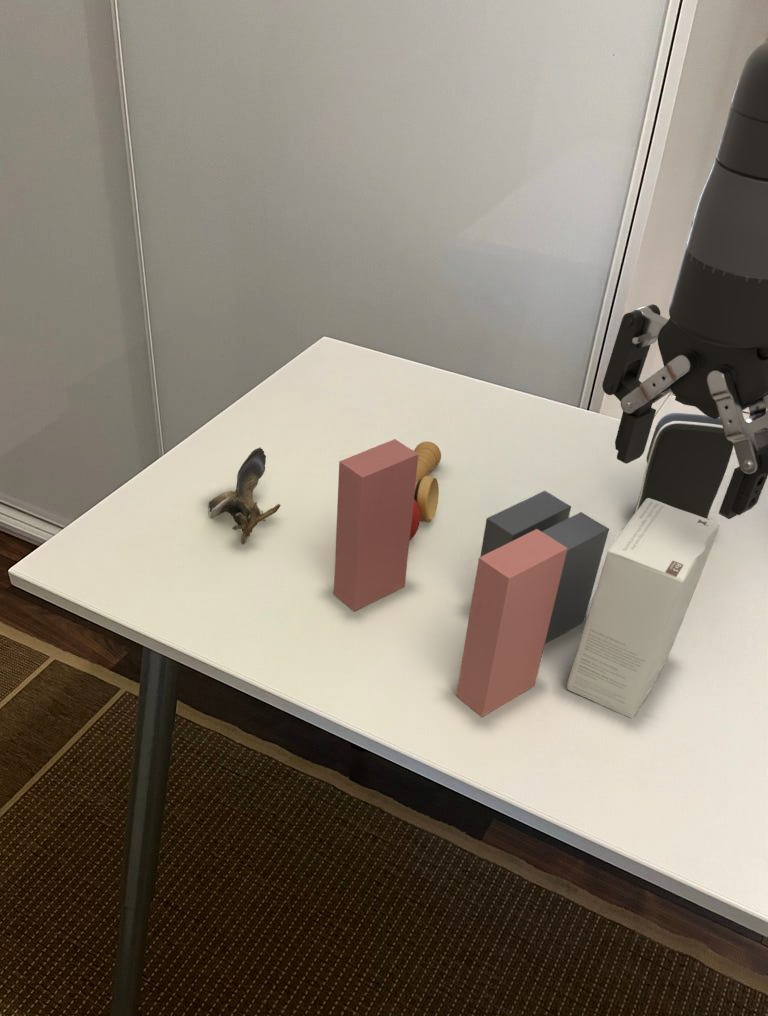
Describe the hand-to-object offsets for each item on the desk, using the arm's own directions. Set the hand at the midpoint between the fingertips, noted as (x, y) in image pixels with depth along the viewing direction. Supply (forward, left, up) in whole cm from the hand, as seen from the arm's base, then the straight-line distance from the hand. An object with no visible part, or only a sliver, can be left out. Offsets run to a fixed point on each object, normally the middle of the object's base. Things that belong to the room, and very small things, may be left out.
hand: (678, 484), depth 67 cm
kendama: (-2, -29, -19) cm, 35 cm away
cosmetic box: (0, 0, -19) cm, 19 cm away
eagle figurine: (+12, -37, -19) cm, 43 cm away
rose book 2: (+9, -5, -19) cm, 22 cm away
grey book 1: (0, -12, -19) cm, 22 cm away
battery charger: (-22, -12, -19) cm, 31 cm away
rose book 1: (+9, -21, -19) cm, 30 cm away
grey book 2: (0, -8, -19) cm, 20 cm away
